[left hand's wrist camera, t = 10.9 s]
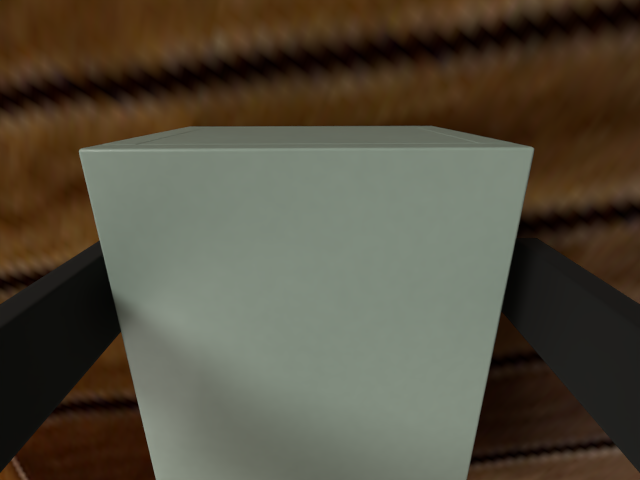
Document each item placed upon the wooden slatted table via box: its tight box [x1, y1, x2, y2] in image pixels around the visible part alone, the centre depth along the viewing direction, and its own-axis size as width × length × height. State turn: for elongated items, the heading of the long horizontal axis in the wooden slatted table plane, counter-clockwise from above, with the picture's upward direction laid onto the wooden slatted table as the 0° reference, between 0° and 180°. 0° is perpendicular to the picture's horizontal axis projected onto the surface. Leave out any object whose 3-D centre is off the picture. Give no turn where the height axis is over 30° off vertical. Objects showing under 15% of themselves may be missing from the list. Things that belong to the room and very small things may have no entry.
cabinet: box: [79, 126, 534, 480], centre depth 15 cm, size 16×11×8 cm
